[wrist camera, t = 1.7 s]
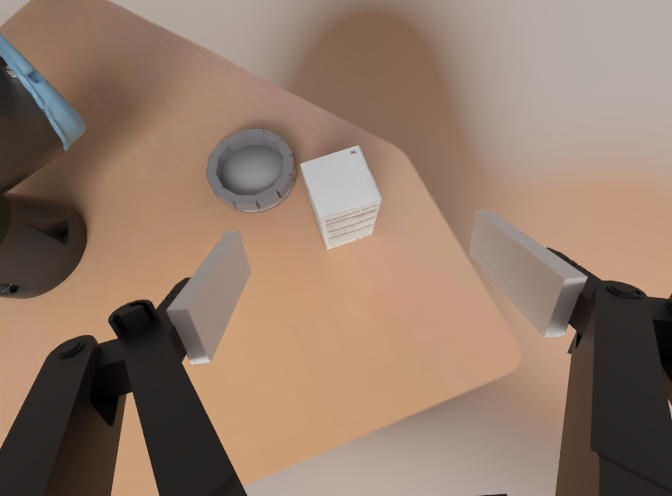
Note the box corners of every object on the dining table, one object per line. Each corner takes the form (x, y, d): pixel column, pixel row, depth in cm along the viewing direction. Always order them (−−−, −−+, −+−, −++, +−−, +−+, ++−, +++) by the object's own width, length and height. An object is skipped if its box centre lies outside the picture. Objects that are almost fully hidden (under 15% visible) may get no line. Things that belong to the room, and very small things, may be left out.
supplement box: (311, 208, 44) (297, 161, 31) (356, 193, 44) (360, 141, 32) (325, 252, 42) (317, 219, 29) (373, 236, 42) (384, 198, 30)
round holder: (199, 189, 45) (189, 179, 42) (246, 129, 48) (240, 116, 45) (265, 227, 43) (260, 220, 40) (311, 162, 46) (309, 150, 43)
